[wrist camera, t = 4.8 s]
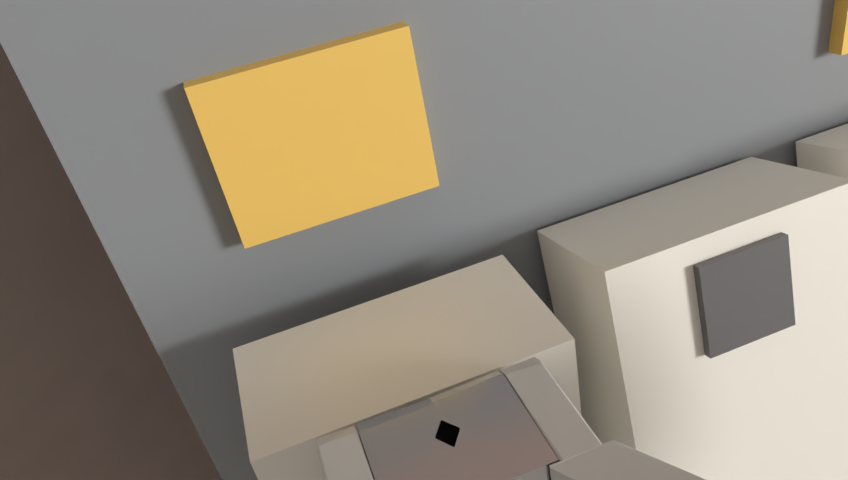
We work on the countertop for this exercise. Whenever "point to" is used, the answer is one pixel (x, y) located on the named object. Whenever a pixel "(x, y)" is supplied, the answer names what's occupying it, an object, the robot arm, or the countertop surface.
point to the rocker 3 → (825, 152)
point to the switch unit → (387, 142)
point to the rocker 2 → (714, 321)
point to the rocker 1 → (391, 360)
